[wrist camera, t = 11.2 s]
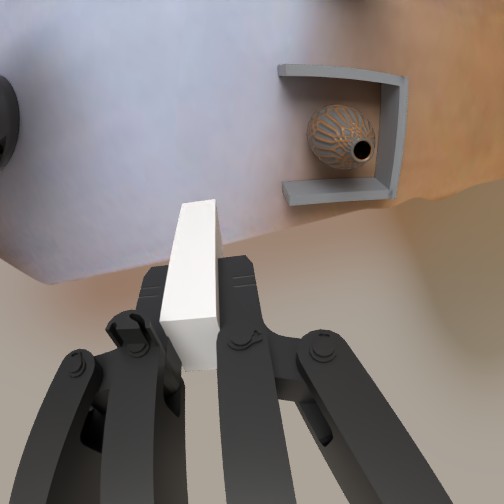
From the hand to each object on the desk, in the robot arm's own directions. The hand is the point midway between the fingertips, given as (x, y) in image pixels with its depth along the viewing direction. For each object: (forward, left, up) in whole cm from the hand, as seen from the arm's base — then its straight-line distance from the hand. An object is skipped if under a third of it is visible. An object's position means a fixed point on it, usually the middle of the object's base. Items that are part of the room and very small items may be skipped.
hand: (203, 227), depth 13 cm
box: (+14, 0, -19) cm, 24 cm away
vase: (+13, 0, -20) cm, 24 cm away
